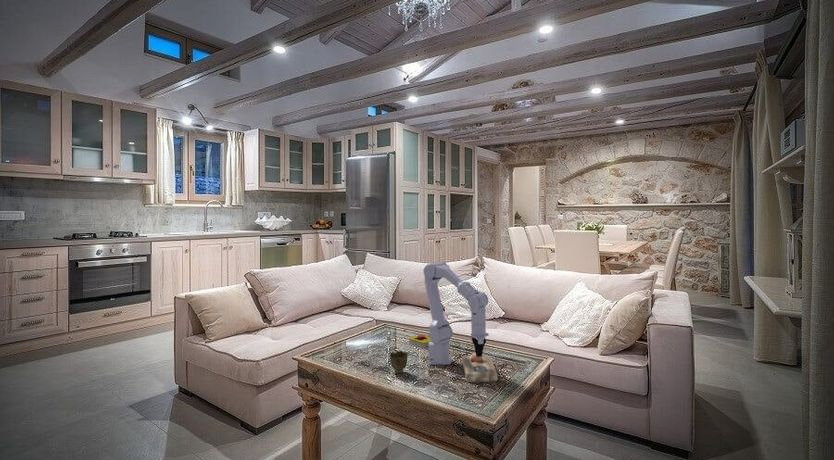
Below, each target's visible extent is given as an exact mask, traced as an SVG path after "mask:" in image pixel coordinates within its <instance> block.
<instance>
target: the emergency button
mask: <svg viewBox="0 0 834 460" xmlns="http://www.w3.org/2000/svg"><path fill="white" fill-rule="evenodd" d="M429 342H432V341H431V340H430V337H429V335H428V336H427V335H424V334H418V335H414V336H412V337H409V338H408V341H407V342H406V344H408V343H409V345H411V344H412V346H414V345H415V346H414V347H417V346H418V348H421V349H425V350H429Z"/></svg>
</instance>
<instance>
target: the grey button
mask: <svg viewBox="0 0 834 460" xmlns="http://www.w3.org/2000/svg"><path fill="white" fill-rule="evenodd" d="M475 372H486V368H485V367H484V366H476V367H475Z"/></svg>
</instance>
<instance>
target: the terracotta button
mask: <svg viewBox="0 0 834 460" xmlns="http://www.w3.org/2000/svg"><path fill="white" fill-rule="evenodd" d="M471 356H472V362H482V357H477V356H476V353H475V352H473V353H471Z"/></svg>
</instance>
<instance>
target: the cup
mask: <svg viewBox="0 0 834 460" xmlns="http://www.w3.org/2000/svg"><path fill="white" fill-rule="evenodd" d="M389 358H390V366H391V368H392V369H393V370H394V373H395V372H396V373H395V374H397V373H401V374H402V372H403V373H404V371H405V368H406V367H407V364H408V352H407V351H405V350H404V351H403V350H396V352H394V351H391V352H389Z"/></svg>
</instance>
